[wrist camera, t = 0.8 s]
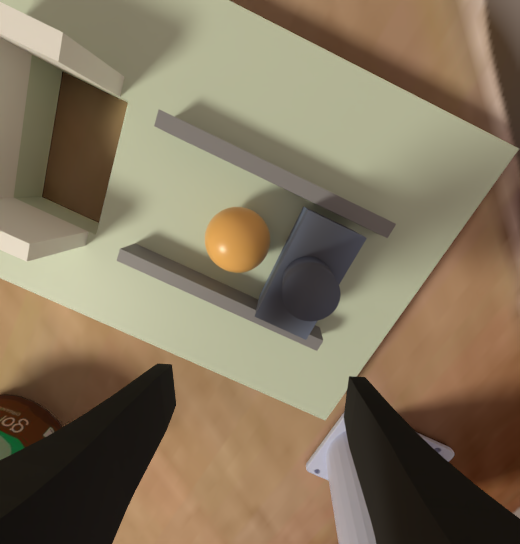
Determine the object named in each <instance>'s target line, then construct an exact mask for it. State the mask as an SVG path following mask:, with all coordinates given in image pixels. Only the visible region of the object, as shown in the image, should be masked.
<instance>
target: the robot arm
mask: <svg viewBox="0 0 520 544" xmlns="http://www.w3.org/2000/svg"><path fill="white" fill-rule="evenodd" d="M175 406H176V399H175V389H174V380H173V371H172V365H171V364H157V365H155V366H153V367H152V368H151V369H149V370H148V371H146V372H145V373H144V374H142V375H141V376H139V377H138V378H137V379H135V380H134V381H132V382H131V383H130V384H128V385H127V386H125V387H124V388H123V389H121V390H120V391H118V392H117V393H116V394H114V395H113V396H111V397H110V398H108V399H107V400H105V401H104V402H102V403H101V404H99V405H98V406H96V407H95V408H93V409H92V410H90V411H89V412H87V413H86V414H84V415H82V416H81V417H79V418H78V419H76V420H74V421H73V422H71V423H69V424H68V425H66V426H64V427H62V428H61V429H59V430H57V431H55V432H54V433H52V434H50V435H48V436H47V437H45V438H43V439H41V440H39V441H37V442H35V443H33V444H31V445H29V446H27V447H25V448H23V449H21V450H19V451H17V452H15V453H13V454H11V455H10V456H8V457H6V458H4V459H1V460H0V544H112V543H113V540H114V538H115V535H116V533H117V531H118V528H119V526H120V524H121V521H122V519H123V516H124V514H125V512H126V509H127V507H128V505H129V503H130V501H131V499H132V497H133V494H134V492H135V490H136V488H137V486H138V485H139V483H140V481H141V479H142V477H143V475H144V473H145V471H146V469H147V467H148V465H149V463H150V461H151V459H152V458H153V456H154V454H155V452H156V450H157V448H158V446H159V444H160V442H161V440H162V438H163V436H164V434H165V432H166V430H167V427H168V425H169V422H170V420H171V417H172V414H173V412H174V409H175ZM454 454H455V453H454V452H453V450H452V449H451V448H450V447H448V446H446V445H444V444H442V443H439V442H437V441H435V440H433V439H430V438H428V437H426V436H424V435H421V434H419V433H417V432H416V431H415V430H414V429H413V428H412V427H411V426H410V425H409V424H408V423H407V422H406V421H405V420H404V419H403V418H402V417H401V416H400V415H399V414H398V413H397V412H396V411H395V410H394V409H393V408H392V407H391V405H390V404H389V403H388V402H387V401H386V400H385V399H384V398H383V397H382V396H381V394H380V393H379V392H378V391H377V390H376V389H375V388H374V387H373V385H372V384H371V383H370V382H369V381H368V380H367V379H366V378H365V377H353V376H349V380H348V388H347V396H346V404H345V412H344V413H343V414H342V416H341V417H340V418H339V420H338V421H337V422H336V424H335V425H334V427H333V428H332V429H331V431H330V432H329V433H328V435H327V436H326V437H325V439H324V440H323V441H322V443H321V444H320V446H319V447H318V448H317V450H316V451H315V452H314V454H313V455H312V456H311V458H310V459H309V461H308V462H307V463H306V469H307V471H308V472H310V473H312V474H315V475H317V476H319V477H322V478H324V479H326V480H329V484H330V491H331V497H332V504H333V510H334V516H335V523H336V529H337V536H338V542H339V544H520V519H519V518H518V517H517V516H515V515H514V514H512V513H511V512H510V511H509V510H507V509H506V508H505V507H503V506H502V505H501V504H499V503H498V502H497V501H496V500H494V499H493V498H492V497H490V496H489V495H488V494H486V493H485V492H484V491H483V490H481V489H480V488H479V487H478V486H476V485H475V484H474V483H473V482H471V481H470V480H469V479H468V478H467V477H465V476H464V475H463V474H462V473H461V472H460V471H458V470H457V469H456V468H455V467H454V466H453V465H451V464H450V463H449V461H450V460H451V459H452V458H453V457H454Z"/></svg>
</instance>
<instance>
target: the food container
mask: <svg viewBox="0 0 520 544" xmlns="http://www.w3.org/2000/svg"><path fill="white" fill-rule="evenodd" d="M61 428H62V426H61V425H60V423H59V421H58V420H57V419H56V418H55V417H54V416H53V415H52V414H51V413H50V412H49V411H48V410H46V409H44V408H43V407H41V406H40V405H38V404H37V403H35V402H33V401H31V400H28V399H26V398H23V397H19V396H15V395H0V460H1V459H4V458H6V457H8V456H10V455H11V454H13V453H15V452H17V451H19V450H21V449H23V448H25V447H27V446H29V445H31V444H33V443H35V442H37V441H39V440H41V439H43V438H45V437H47V436H48V435H50V434H52V433H54V432H55V431H57V430H59V429H61Z"/></svg>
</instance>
